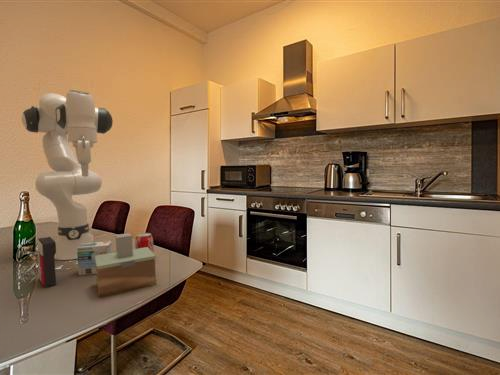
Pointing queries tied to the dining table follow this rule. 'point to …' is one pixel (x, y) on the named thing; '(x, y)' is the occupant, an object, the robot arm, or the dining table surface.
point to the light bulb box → (91, 256)
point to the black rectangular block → (46, 261)
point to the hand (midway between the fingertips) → (85, 176)
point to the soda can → (144, 241)
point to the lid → (113, 260)
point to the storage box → (125, 277)
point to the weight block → (124, 245)
